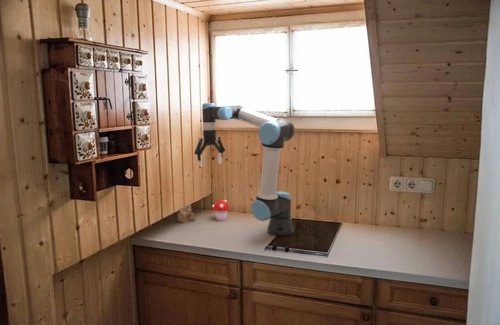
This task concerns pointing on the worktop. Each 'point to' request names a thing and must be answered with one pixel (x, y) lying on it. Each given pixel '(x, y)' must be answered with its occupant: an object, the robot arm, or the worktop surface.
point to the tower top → (186, 210)
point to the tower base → (186, 217)
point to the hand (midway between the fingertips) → (210, 164)
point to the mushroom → (221, 209)
